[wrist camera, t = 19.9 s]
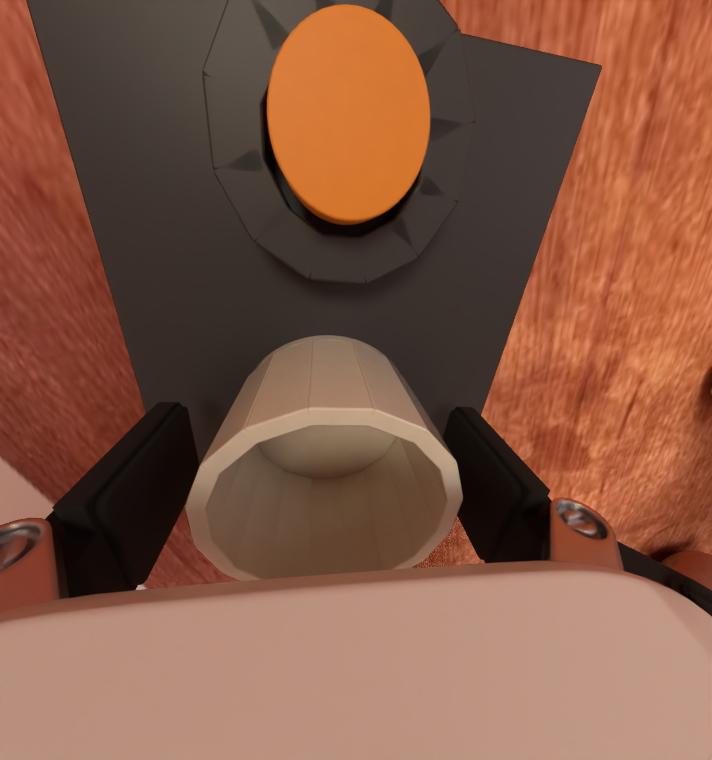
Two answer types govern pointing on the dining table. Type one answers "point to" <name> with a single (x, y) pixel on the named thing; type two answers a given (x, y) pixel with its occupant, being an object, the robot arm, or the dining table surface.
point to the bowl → (323, 469)
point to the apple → (692, 566)
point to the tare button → (348, 114)
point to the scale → (283, 209)
